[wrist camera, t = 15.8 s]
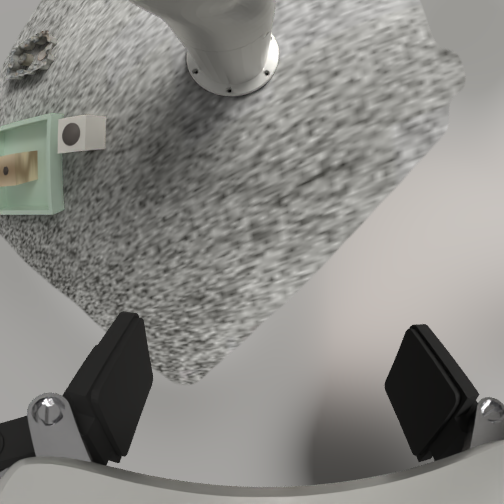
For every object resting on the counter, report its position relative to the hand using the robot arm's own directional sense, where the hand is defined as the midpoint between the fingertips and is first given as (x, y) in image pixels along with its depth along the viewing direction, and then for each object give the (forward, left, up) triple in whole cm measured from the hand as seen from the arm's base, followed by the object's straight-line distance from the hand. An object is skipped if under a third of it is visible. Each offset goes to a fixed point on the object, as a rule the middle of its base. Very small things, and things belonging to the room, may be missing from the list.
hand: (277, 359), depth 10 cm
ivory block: (-9, -26, -33) cm, 43 cm away
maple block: (-5, -40, -33) cm, 52 cm away
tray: (-5, -40, -33) cm, 52 cm away
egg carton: (-25, -41, -34) cm, 59 cm away
